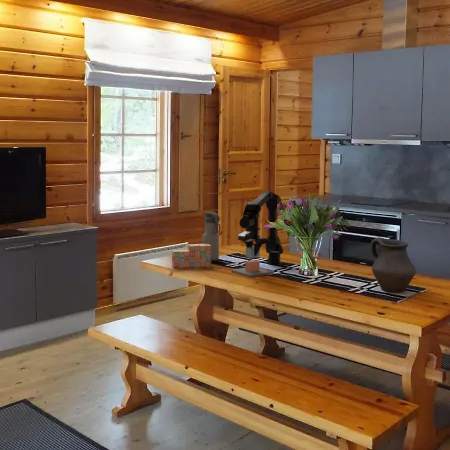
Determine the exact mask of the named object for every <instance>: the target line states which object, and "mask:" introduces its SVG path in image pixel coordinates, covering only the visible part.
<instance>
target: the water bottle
mask: <svg viewBox="0 0 450 450" xmlns="http://www.w3.org/2000/svg"><path fill="white" fill-rule="evenodd" d="M204 213H205V217H204V233H203V234H202V237H201V239H202V241H201V242H202V243H201V244H210V245H211V262H213V260H214V261H218V260H219V259H220V256H219V255H220V253H219V252H220V246H219V245H220V244H219V243H220V241H219V239H220V238H219V237H220V236H219V235H220V234H219V233H220V232H221V224H220V220H221V218H220V215H219V214H218V213H217V212H213V211H205V212H204ZM217 226H218V231H217Z"/></svg>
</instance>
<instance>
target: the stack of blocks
mask: <svg viewBox="0 0 450 450" xmlns="http://www.w3.org/2000/svg"><path fill="white" fill-rule="evenodd" d="M171 264H172V265H171V266H172V267H173V269H177V268H179V269H181V268H209V267H212V261H211V245H210V244H202V243H194V244H193V243H190V244H189V243H188V244H187V249H172V250H171Z"/></svg>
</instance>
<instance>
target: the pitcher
mask: <svg viewBox="0 0 450 450" xmlns="http://www.w3.org/2000/svg"><path fill="white" fill-rule="evenodd" d="M377 244H379V246H380V253H379V254H378V252H377ZM408 246H409V242H407V241H404V240H402V239H401V240H400V239H386V238H384V237H379V236H378V237H376V238H373V239H372V240H371V242H370V252H371V255H372V257H373V260H374V262H373V264H372V267H371V272H372V274H373V276H374V278H375V279H376V281H377V283H378V285H379V287H380V289H381V291H384V292H387V293H388V292H389V293H395V294H396V293H402V292H404V291H405V290H406V289H407V288H408V286H409V285H410V283H411V281H413V279H414V277H415V275H416V272H417V271H416V266H414V264H413V263H412V261H411V259H410V257H409V255H408V251H407V248H408Z"/></svg>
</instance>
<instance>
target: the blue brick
mask: <svg viewBox="0 0 450 450" xmlns="http://www.w3.org/2000/svg"><path fill="white" fill-rule="evenodd" d="M260 251H261V249H260V250H259V252H258V254H257V255H256V256H255V254H254V246H252V247H245V257H246V258H250V259H255V258H260V256H261V255H260V253H261V252H260Z"/></svg>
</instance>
